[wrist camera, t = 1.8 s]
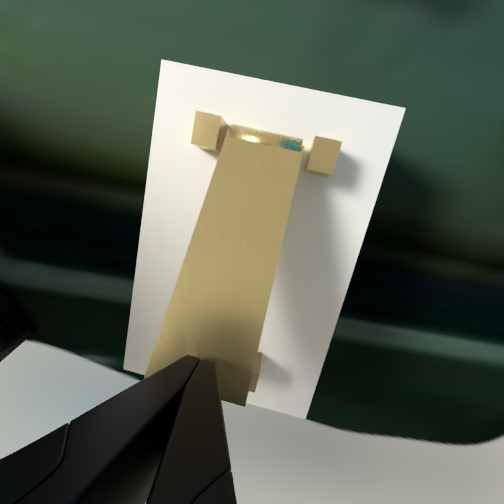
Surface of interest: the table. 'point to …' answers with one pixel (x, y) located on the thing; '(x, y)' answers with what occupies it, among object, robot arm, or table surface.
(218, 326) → the brass clasp lever
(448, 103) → the table surface
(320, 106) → the box
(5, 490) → the robot arm
